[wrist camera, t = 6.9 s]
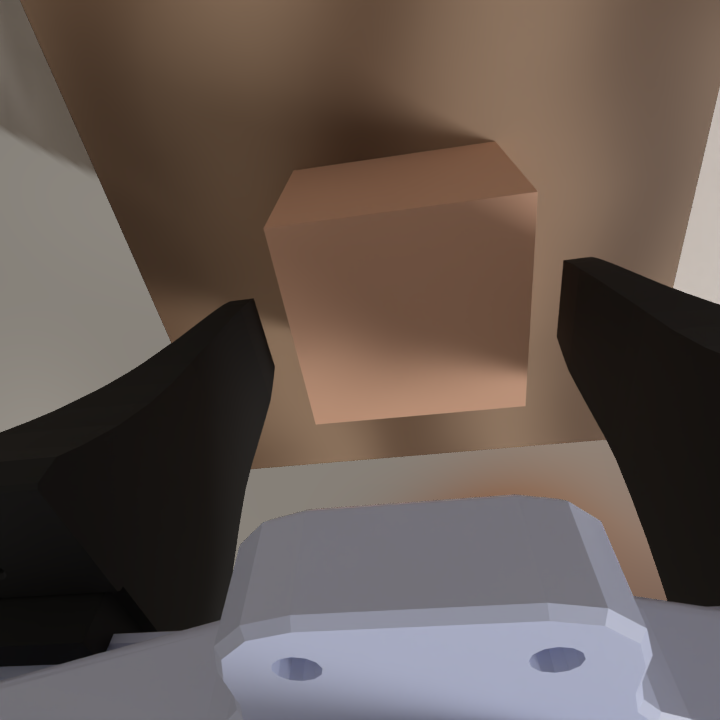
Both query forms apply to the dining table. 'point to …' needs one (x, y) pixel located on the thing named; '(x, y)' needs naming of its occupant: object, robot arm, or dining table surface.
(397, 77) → the walnut base
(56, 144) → the dining table surface
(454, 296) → the terracotta block
